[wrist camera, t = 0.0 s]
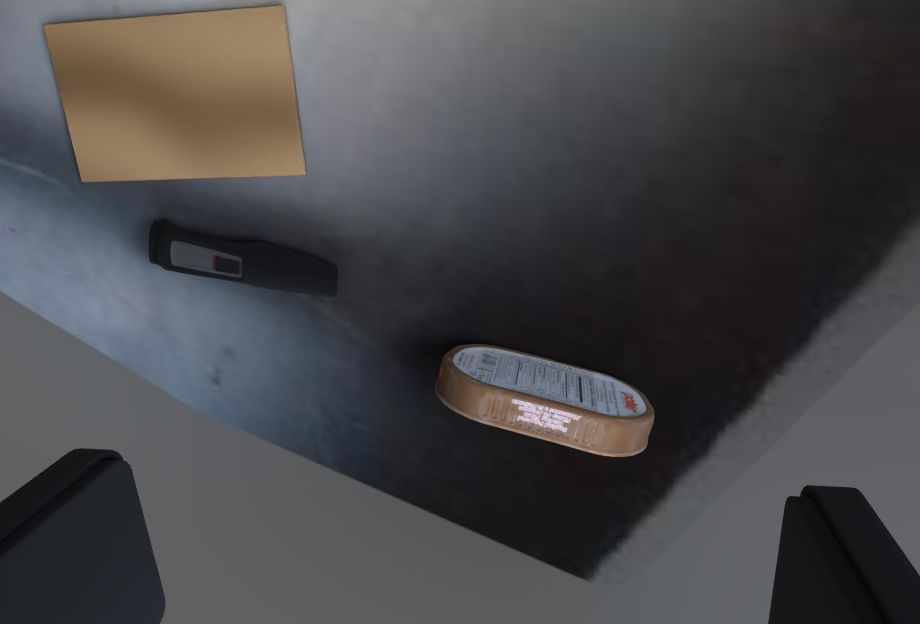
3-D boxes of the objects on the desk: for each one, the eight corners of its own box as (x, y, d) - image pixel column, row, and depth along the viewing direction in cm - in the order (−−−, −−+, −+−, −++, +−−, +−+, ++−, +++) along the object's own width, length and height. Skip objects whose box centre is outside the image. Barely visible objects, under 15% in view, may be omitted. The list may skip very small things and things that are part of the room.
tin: (445, 362, 49) (421, 416, 41) (454, 326, 48) (430, 373, 40) (639, 413, 48) (651, 478, 40) (652, 376, 47) (668, 436, 39)
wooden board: (48, 25, 45) (42, 24, 45) (285, 5, 42) (281, 4, 42) (86, 181, 49) (81, 182, 48) (307, 174, 46) (304, 175, 45)
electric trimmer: (347, 302, 49) (333, 316, 46) (158, 261, 50) (133, 272, 47) (352, 255, 48) (338, 267, 45) (158, 214, 49) (132, 223, 46)
